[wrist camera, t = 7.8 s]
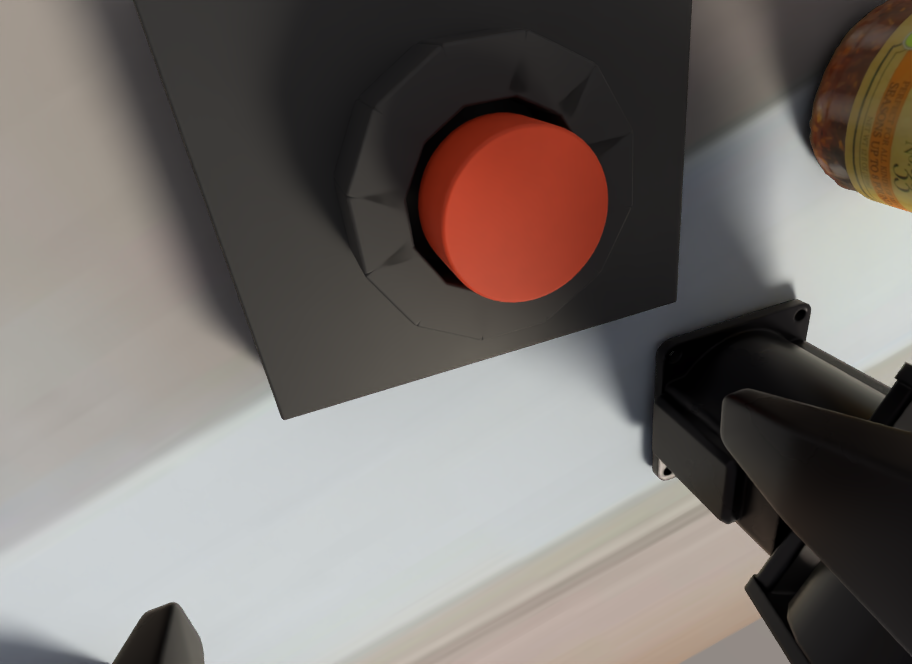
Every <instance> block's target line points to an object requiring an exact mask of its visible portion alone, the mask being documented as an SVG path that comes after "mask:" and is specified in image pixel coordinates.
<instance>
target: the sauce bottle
mask: <svg viewBox="0 0 912 664" xmlns="http://www.w3.org/2000/svg"><path fill="white" fill-rule="evenodd" d="M809 126H810V128H811V133H810V138H809V139H810V142H811V146H812V148H813V152H814V155H815V157H816V159H817V161H818V163H819V164H820V166H821V167H822V169H823V170H824V172H825V174H827V175H829V176H830V177H831V178H832V179H833V180H835V182H836V183H837V184H838V185H839V186H841V187H843V188H845V189H849V190H854V191H857V192H859V193H860V194H862V195H863V196H865V197H866V198H868V199H871V200H873V201H876V202H879V203H882V204H886V205H889V206H892V207H896V208H899V209H902V210H905V211H909V212H912V0H887V1H886V2H885V3H884V4H882V5H880V6H877V7H876V8H875V9H873V10H872V11H871V12H869V13H868V14H867V15H866V16H865V17H864V18H863V19H861V20H860V21H859V22H858V23H857V24H856V25H855V26H853V27H852V28H851V29H850V30H849V31H848V33H847V34H846V35H845V37H844V38H843V39H842V41H841V43H840V45H839V46H838V47H837V48H836V49H835V52H834V54H833V56H832V58H831V60H830V62H829V64H828V65H827V67H826V69H825V72H824V74H823V77H822V80H821V83H820V85H819V88H818V90H817V93H816V95H815V99H814V102H813V109H812V118H811V120H810V122H809Z"/></svg>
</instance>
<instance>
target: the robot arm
mask: <svg viewBox="0 0 912 664" xmlns="http://www.w3.org/2000/svg"><path fill="white" fill-rule="evenodd" d="M810 314H811V307H810V305H809V304H807V303H804V302H802V301H800V300H798V299H795V300H791V301H788V302H785V303H781V304H778V305H775V306H772V307H769V308H766V309H763V310H759V311H756V312H753V313H750V314H747V315H744V316H740V317H737V318H734V319H731V320H728V321H725V322H722V323H718V324H715V325H712V326H709V327H706V328H703V329H699V330H696V331H693V332H690V333H687V334H684V335H681V336H677V337H674V338H671V339H668V340H666V341H664V342H663V343H662V344H661V345H660V346H659V348H658V350H657V354H656V376H655V401H654V407H653V436H652V452H653V461H652V469H653V472H654V473H655V474H656V475H657V476H658V477H659V478H660V479H661V480H664V481H665V480H669V479H672V478H674V477H677V478H678V479H679V480H680V481H681V482H682V483H683V484H684V485H685V486H686V487H687V488H688V489H689V490H690V491H691V492H692V493H693V494H694V495H695V496H696V497H697V498H698V499H699V500H700V501H701V502H702V503H703V504H704V505H705V506H706V507H707V508H708V509H709V510H710V511H711V512H712V513H713V514H714V515H715V516H716V517H717V518H718V519H719V520H720V521H722V522H724V523H726V524H730V523H732V522H736V523H737V524H738V525H739V526H740V527H741V528H742V529H743V530H744V531H745V532H746V533H747V534H748V535H749V536H750V537H751V538H752V539H753V540H754V541H755V542H756V543H757V544H758V545H759V546H760V547H762V548H763V549H764V550H765V551H766V552H767V553H768V554H769V555H770V558H769V559H768V561H767V562H766V563H765V565H764V566H763V568H762V569H761V570H760V572H759V573H758V575H757V574H754V575H753V576H752V577H751V579H750V580H749V582H748V583H747V584H746V586H745V591H746V592H747V594H748V595H749V597H750V599H751V600H752V602H753V603H754V605H755V607H756V608H757V610H758V612H759V613H760V615H761V616H762V618H763V620H764V621H765V623H766V624H767V626H768V628H769V629H770V631H771V632H772V634H773V636H774V637H775V639H776V641H777V642H778V644H779V645H780V647H781V648H782V650H783V652H784V653H785V655H786V656H787V658H788V660H789V662H790V663H791V664H912V364H910V363H907V362H905V364H904V365H903V366H902V368H901V369H900V371H899V372H898V373H897V375H896V376H895V378H896V379H897V381H896V382H895V384H894V385H893V387H892V388H890V387H888V386H886V385H885V384H883V383H881V382H879V381H877V380H876V379H874V378H872V377H870V376H868V375H866V374H865V373H863V372H861V371H859V370H857V369H855V368H854V367H852V366H850V365H848V364H846V363H844V362H843V361H841V360H839V359H837V358H835V357H833V356H832V355H830V354H828V353H826V352H824V351H823V350H821V349H819V348H817V347H815V346H813V345H812V344H810V343H808V342H806V336H807V331H808V325H809V319H810ZM673 351H674V352H673ZM672 352H673V353H672ZM671 353H672V355H670V354H671ZM112 664H204V653H203V646H202V642H201V639H200V637H199V635H198V633H197V631H196V630H195V628H194V627H193V625H192V624H191V622H190V620H189V619H188V617H187V616H186V614H185V612H184V611H183V609H182V608H181V606H180V605H179V604H177V603H175V602H172V603H168V604H165V605H163V606H160V607H157V608H155V609H152V610H149V611H147V612H146V613H145V614H144V615H143V616H142V617H141V618H140V620H139V621H138V623H137V625H136V626H135V628H134V629H133V631H132V633H131V634H130V636H129V637H128V639H127V641H126V642H125V644H124V645H123V647H122V649H121V650H120V652H119V653H118V655H117V657H116V658H115V660H114V662H113V663H112Z"/></svg>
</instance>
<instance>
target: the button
mask: <svg viewBox="0 0 912 664" xmlns="http://www.w3.org/2000/svg"><path fill="white" fill-rule="evenodd" d="M418 211H419V219H420V223H421V227H422V230H423V233H424V235H425V238H426V239H427V241H428V243H429V245H430V247H431V248H432V249H433V250H434V252H435V253H436V254H437V255H438V256H439V258H440V259H441V260H442V261H443V262H444V263H445V264H446V265H447V267H448V268H449V269H450V270H451V271H452V272H453V273H454V274H455V275H456V277H457V278H458V279H459V280H460V281H461V282H462V283H463V284H464V285H465V286H466V287H468V288H469V289H471V290H472V291H473V292H475V293H477V294H479V295H481V296H483V297H485V298H488V299H491V300H495V301H500V302H525V301H529V300H534V299H537V298H540V297H543V296H545V295H547V294H550V293H552V292H554V291H555V290H557V289H559V288H560V287H562V286H563V285H565V284H566V283H567V282H568V281H570V280H571V279H572V278H573V277H574V276H575V275H576V274H577V273H578V272H579V271H580V270H581V269H582V268H583V267H584V265H585V264H586V263H587V262H588V260H589V259H590V257H591V256H592V254H593V252H594V251H595V249H596V247H597V245H598V243H599V241H600V238H601V236H602V233H603V230H604V226H605V223H606V217H607V211H608V189H607V183H606V178H605V175H604V172H603V169H602V166H601V164H600V162H599V160H598V158H597V156H596V155H595V153H594V152H593V151H592V149H591V148H590V147H589V146H588V145H587V144H586V143H585V141H584V140H583V139H581V138H580V137H579V136H577V135H576V134H575V133H573V132H571V131H569V130H567V129H565V128H563V127H560V126H557V125H554V124H551V123H547V122H544V121H541V120H537V119H534V118H531V117H527V116H524V115H521V114H516V113H510V112H497V113H490V114H485V115H482V116H478V117H476V118H473V119H471V120H469V121H467V122H465V123H464V124H462V125H460V126H459V127H457V128H456V129H455V130H453V131H452V132H451V133H450V134H449V135H448V136H447V137H446V138H445V139H444V140H443V141H442V142H441V143H440V144H439V146H438V147H437V148H436V150H435V151H434V152H433V154H432V156H431V157H430V159H429V161H428V163H427V165H426V168H425V170H424V172H423V175H422V179H421V183H420V188H419V194H418Z"/></svg>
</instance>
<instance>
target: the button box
mask: <svg viewBox="0 0 912 664" xmlns="http://www.w3.org/2000/svg"><path fill="white" fill-rule="evenodd" d="M133 2H134V5H135V7H136V10H137V13H138V16H139V19H140V21H141V24H142V27H143V30H144V33H145V36H146V38H147V41H148V44H149V47H150V50H151V52H152V55H153V58H154V61H155V64H156V66H157V69H158V72H159V75H160V78H161V81H162V83H163V86H164V89H165V92H166V95H167V97H168V100H169V103H170V106H171V109H172V111H173V114H174V117H175V120H176V123H177V126H178V128H179V131H180V134H181V137H182V140H183V142H184V145H185V148H186V151H187V154H188V156H189V159H190V162H191V165H192V168H193V170H194V173H195V176H196V179H197V182H198V185H199V187H200V190H201V193H202V196H203V199H204V201H205V204H206V207H207V210H208V213H209V215H210V218H211V221H212V224H213V227H214V230H215V232H216V235H217V238H218V241H219V244H220V246H221V249H222V252H223V255H224V258H225V260H226V263H227V266H228V269H229V272H230V275H231V277H232V280H233V283H234V286H235V289H236V291H237V294H238V297H239V300H240V303H241V305H242V308H243V311H244V314H245V317H246V319H247V322H248V325H249V328H250V331H251V334H252V336H253V339H254V342H255V345H256V348H257V350H258V353H259V356H260V359H261V362H262V364H263V367H264V370H265V373H266V376H267V379H268V381H269V384H270V387H271V390H272V393H273V395H274V398H275V401H276V404H277V407H278V409H279V412H280V415H281V418H282V419H283V420H287V419H290V418H293V417H297V416H300V415H303V414H307V413H310V412H313V411H316V410H320V409H323V408H326V407H330V406H333V405H336V404H340V403H343V402H346V401H349V400H353V399H356V398H359V397H363V396H366V395H369V394H373V393H376V392H379V391H383V390H386V389H389V388H392V387H396V386H399V385H402V384H406V383H409V382H412V381H416V380H419V379H422V378H426V377H429V376H432V375H435V374H439V373H442V372H445V371H449V370H452V369H455V368H459V367H462V366H465V365H468V364H472V363H475V362H478V361H482V360H485V359H488V358H492V357H495V356H498V355H502V354H505V353H508V352H511V351H515V350H518V349H521V348H525V347H528V346H531V345H535V344H538V343H541V342H545V341H548V340H551V339H554V338H558V337H561V336H564V335H568V334H571V333H574V332H578V331H581V330H584V329H588V328H591V327H594V326H597V325H601V324H604V323H607V322H611V321H614V320H617V319H621V318H624V317H627V316H630V315H634V314H637V313H640V312H644V311H647V310H650V309H654V308H657V307H660V306H664V305H667V304H670V303H673V302H676V300H677V281H678V262H679V243H680V224H681V205H682V185H683V166H684V147H685V128H686V109H687V89H688V70H689V51H690V32H691V13H692V0H133ZM497 112H510V113H516V114H521V115H524V116H527V117H531V118H534V119H537V120H541V121H544V122H547V123H551V124H554V125H557V126H560V127H563V128H565V129H567V130H569V131H571V132H573V133H575V134H576V135H577V136H579V137H580V138H581V139H583V140H584V141H585V143H586V144H587V145H588V146H589V147H590V148H591V149H592V151H593V152H594V153H595V155H596V156H597V158H598V160H599V162H600V164H601V166H602V169H603V172H604V175H605V178H606V183H607V189H608V211H607V217H606V223H605V226H604V230H603V233H602V236H601V238H600V241H599V243H598V245H597V247H596V249H595V251H594V252H593V254H592V256H591V257H590V259H589V260H588V262H587V263H586V264H585V265H584V267H583V268H582V269H581V270H580V271H579V272H578V273H577V274H576V275H575V276H574V277H573V278H572V279H571V280H570V281H568V282H567V283H566V284H565V285H563V286H562V287H560V288H559V289H557V290H555V291H554V292H552V293H550V294H547V295H545V296H543V297H540V298H537V299H534V300H529V301H525V302H500V301H495V300H491V299H488V298H485V297H483V296H481V295H479V294H477V293H475V292H473V291H472V290H471V289H469V288H468V287H466V286H465V285H464V284H463V283H462V282H461V281H460V280H459V279H458V278H457V277H456V275H455V274H454V273H453V272H452V271H451V270H450V269H449V268H448V267H447V265H446V264H445V263H444V262H443V261H442V260H441V259H440V258H439V256H438V255H437V254H436V253H435V252H434V250H433V249H432V248H431V247H430V245H429V243H428V241H427V239H426V238H425V235H424V233H423V230H422V227H421V223H420V219H419V211H418V194H419V188H420V183H421V179H422V175H423V172H424V170H425V168H426V165H427V163H428V161H429V159H430V157H431V156H432V154H433V152H434V151H435V150H436V148H437V147H438V146H439V144H440V143H441V142H442V141H443V140H444V139H445V138H446V137H447V136H448V135H449V134H450V133H451V132H452V131H453V130H455V129H456V128H457V127H459V126H460V125H462V124H464V123H465V122H467V121H469V120H471V119H473V118H476V117H478V116H482V115H485V114H490V113H497Z"/></svg>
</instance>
